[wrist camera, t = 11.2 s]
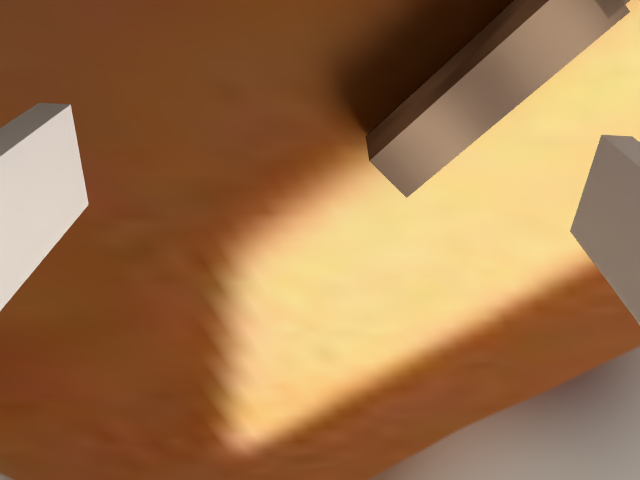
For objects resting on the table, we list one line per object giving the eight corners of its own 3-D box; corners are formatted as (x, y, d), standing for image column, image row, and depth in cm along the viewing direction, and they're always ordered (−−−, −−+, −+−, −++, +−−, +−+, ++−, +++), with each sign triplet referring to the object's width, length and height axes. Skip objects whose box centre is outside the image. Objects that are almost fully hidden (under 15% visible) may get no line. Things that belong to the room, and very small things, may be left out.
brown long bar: (641, -123, 24) (688, -130, 21) (677, -64, 25) (726, -62, 22) (363, 133, 30) (366, 158, 27) (401, 172, 31) (409, 201, 28)
